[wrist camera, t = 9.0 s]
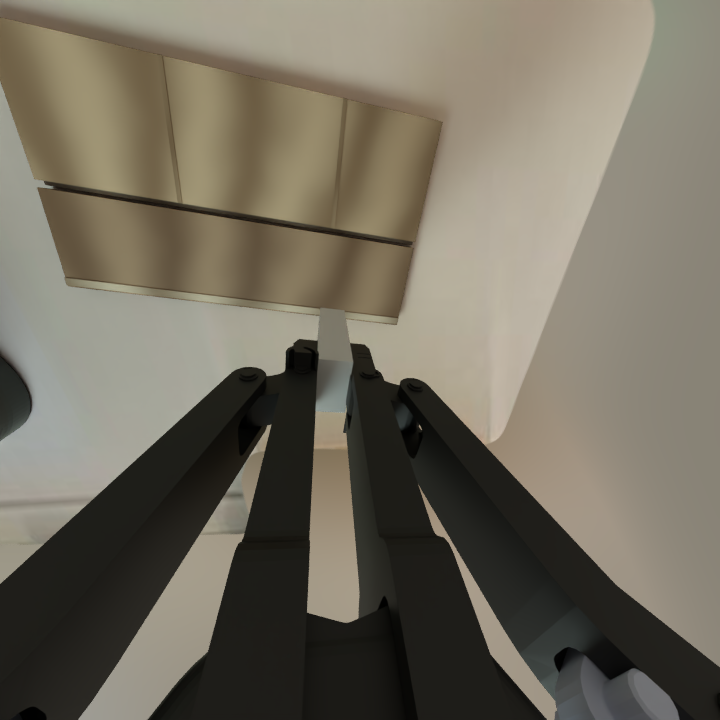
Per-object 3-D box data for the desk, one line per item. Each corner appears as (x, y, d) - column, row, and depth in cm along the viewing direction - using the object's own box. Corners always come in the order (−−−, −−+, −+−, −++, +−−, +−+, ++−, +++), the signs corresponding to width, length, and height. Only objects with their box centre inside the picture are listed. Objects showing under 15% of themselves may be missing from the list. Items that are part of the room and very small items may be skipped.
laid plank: (51, 185, 20) (35, 183, 19) (-1, 24, 16) (-26, 10, 15) (410, 244, 24) (414, 245, 23) (437, 126, 20) (443, 121, 19)
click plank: (80, 283, 24) (67, 286, 22) (52, 189, 20) (35, 187, 19) (394, 320, 28) (396, 325, 26) (410, 246, 24) (413, 248, 23)
